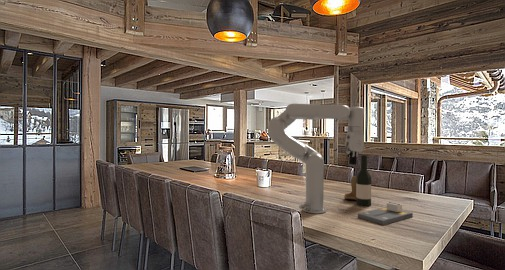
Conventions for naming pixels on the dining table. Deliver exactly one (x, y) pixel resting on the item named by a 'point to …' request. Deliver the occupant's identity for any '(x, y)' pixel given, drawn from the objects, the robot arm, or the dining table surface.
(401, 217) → the fader console
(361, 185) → the wine bottle
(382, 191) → the dining table surface
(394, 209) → the fader knob
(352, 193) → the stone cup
